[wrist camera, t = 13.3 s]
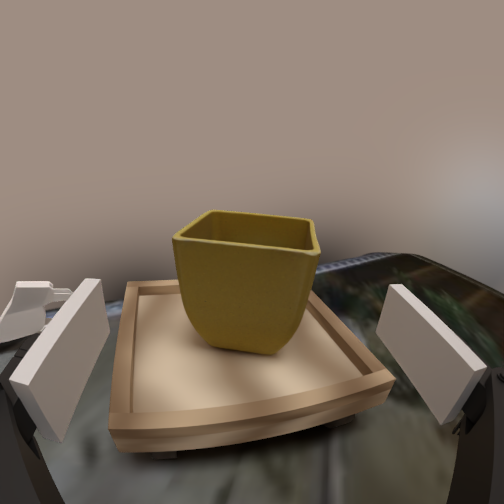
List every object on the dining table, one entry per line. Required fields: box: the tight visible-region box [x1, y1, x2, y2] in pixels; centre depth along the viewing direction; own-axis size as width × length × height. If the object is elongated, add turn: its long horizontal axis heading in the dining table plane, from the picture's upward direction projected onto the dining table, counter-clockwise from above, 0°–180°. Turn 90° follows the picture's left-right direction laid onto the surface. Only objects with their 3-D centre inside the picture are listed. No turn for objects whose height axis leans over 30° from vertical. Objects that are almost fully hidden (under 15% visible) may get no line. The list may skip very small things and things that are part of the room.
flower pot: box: [172, 210, 321, 355], centre depth 22 cm, size 9×9×9 cm
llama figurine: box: [0, 281, 73, 343], centre depth 23 cm, size 2×11×18 cm
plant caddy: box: [108, 280, 396, 459], centre depth 24 cm, size 18×18×6 cm
